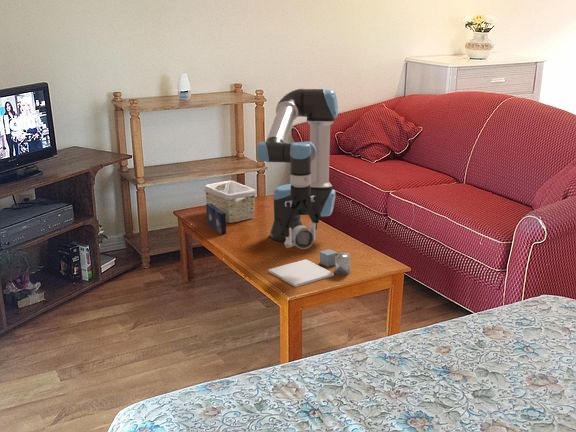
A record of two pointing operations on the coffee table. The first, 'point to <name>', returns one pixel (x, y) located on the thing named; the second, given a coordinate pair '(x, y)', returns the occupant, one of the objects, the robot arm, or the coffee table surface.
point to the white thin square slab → (301, 272)
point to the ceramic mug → (301, 237)
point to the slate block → (327, 257)
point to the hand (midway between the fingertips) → (300, 241)
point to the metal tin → (342, 263)
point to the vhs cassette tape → (216, 218)
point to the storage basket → (232, 200)
